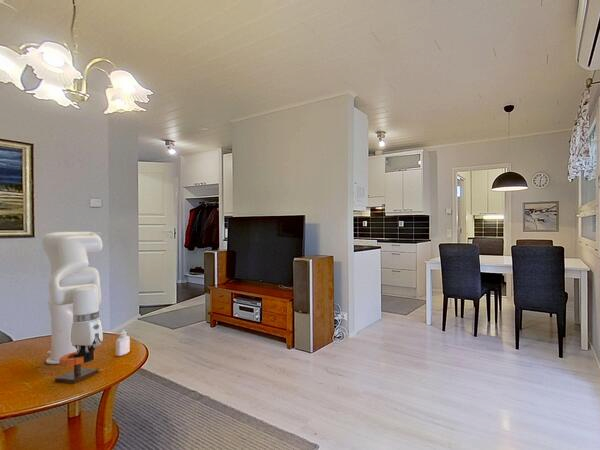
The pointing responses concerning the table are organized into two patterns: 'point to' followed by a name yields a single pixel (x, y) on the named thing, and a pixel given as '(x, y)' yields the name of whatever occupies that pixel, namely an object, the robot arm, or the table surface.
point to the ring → (71, 359)
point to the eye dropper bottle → (122, 344)
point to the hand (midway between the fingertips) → (86, 360)
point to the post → (76, 374)
